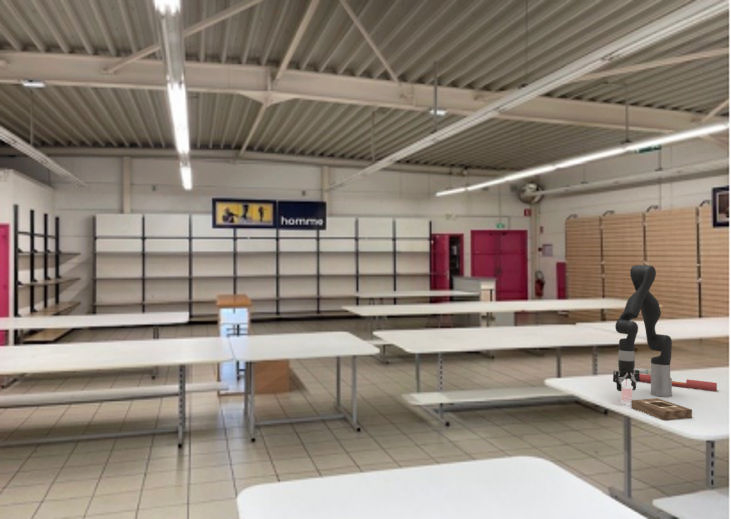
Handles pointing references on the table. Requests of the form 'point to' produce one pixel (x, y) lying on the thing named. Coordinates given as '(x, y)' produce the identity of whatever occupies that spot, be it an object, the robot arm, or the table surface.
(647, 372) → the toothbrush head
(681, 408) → the socket board
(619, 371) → the robot arm
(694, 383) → the reddish-brown long rod
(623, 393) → the beverage cup
